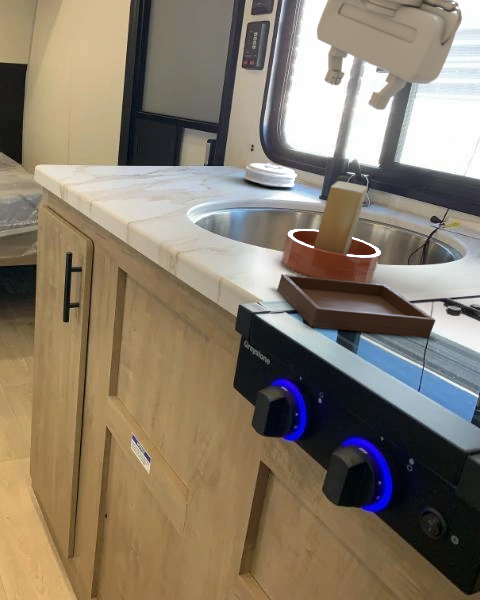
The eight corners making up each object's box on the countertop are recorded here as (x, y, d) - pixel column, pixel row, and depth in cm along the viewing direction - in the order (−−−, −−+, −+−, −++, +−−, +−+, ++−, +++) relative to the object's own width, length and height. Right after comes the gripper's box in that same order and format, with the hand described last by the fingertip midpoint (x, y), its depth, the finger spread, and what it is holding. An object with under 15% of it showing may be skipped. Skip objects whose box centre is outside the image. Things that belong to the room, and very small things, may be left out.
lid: (302, 192, 149) (307, 172, 147) (254, 187, 147) (259, 167, 145) (279, 181, 160) (284, 162, 158) (235, 177, 158) (239, 158, 156)
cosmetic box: (315, 258, 92) (337, 179, 87) (344, 266, 90) (369, 186, 85) (306, 268, 87) (330, 185, 82) (337, 276, 85) (363, 191, 80)
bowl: (346, 261, 95) (354, 234, 93) (388, 291, 83) (398, 261, 82) (268, 253, 94) (275, 225, 92) (299, 282, 82) (308, 251, 80)
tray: (380, 300, 79) (385, 284, 78) (429, 338, 69) (436, 320, 68) (277, 290, 78) (281, 273, 77) (311, 327, 68) (316, 308, 67)
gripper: (487, 9, 68) (424, 125, 76) (367, -28, 83) (325, 73, 91) (448, 1, 66) (387, 122, 74) (332, -35, 81) (292, 69, 89)
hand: (352, 95), depth 83 cm, fingers open, 8 cm apart
